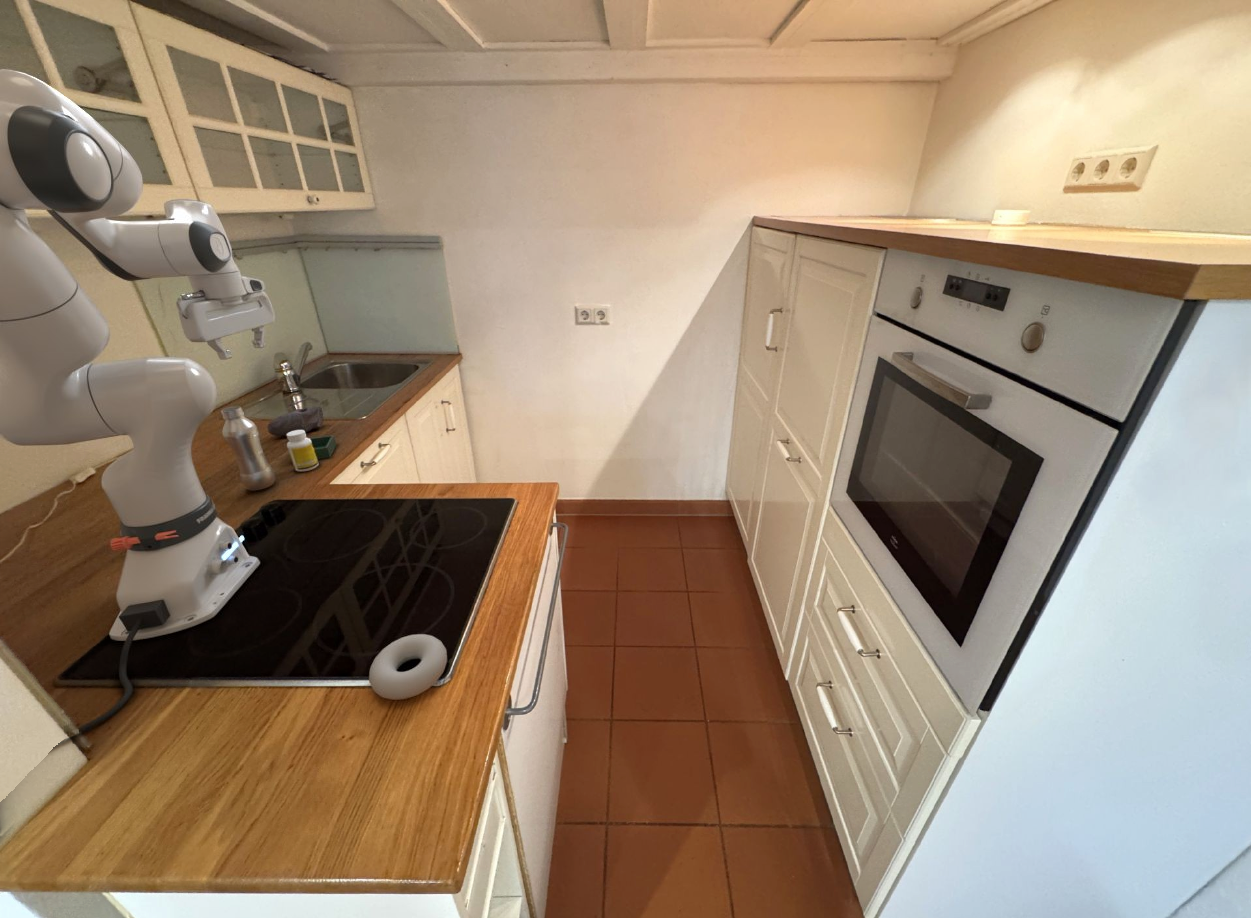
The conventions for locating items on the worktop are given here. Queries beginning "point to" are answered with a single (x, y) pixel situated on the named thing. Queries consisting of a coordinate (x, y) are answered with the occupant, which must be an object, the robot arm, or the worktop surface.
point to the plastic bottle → (247, 449)
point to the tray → (323, 446)
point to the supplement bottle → (301, 451)
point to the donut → (414, 680)
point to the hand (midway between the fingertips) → (243, 353)
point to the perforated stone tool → (297, 421)
